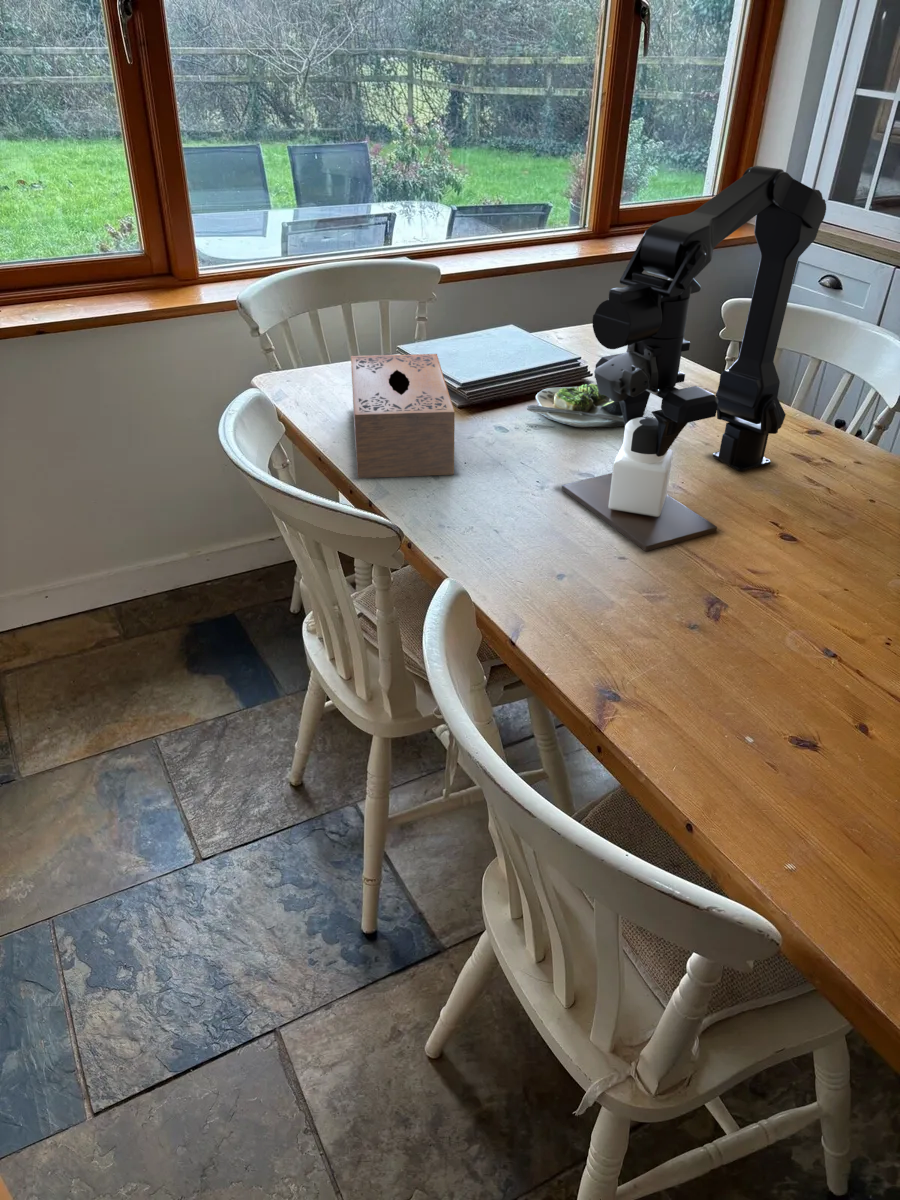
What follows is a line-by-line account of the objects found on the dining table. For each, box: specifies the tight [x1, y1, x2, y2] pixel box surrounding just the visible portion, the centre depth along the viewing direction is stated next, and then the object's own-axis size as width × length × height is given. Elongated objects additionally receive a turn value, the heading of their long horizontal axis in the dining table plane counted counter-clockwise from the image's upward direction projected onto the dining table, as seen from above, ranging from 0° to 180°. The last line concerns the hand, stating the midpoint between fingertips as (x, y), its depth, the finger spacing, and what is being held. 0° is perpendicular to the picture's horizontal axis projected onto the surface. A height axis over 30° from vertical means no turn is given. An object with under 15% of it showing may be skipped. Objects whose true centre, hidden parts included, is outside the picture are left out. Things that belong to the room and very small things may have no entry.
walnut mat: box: [561, 472, 718, 552], centre depth 128 cm, size 12×20×1 cm, turn 27°
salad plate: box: [526, 383, 625, 428], centre depth 157 cm, size 19×18×5 cm
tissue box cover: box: [350, 353, 456, 479], centre depth 144 cm, size 26×14×10 cm, turn 6°
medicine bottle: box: [609, 416, 674, 517], centre depth 124 cm, size 7×7×12 cm
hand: (645, 446), depth 123 cm, fingers closed on medicine bottle, 6 cm apart
